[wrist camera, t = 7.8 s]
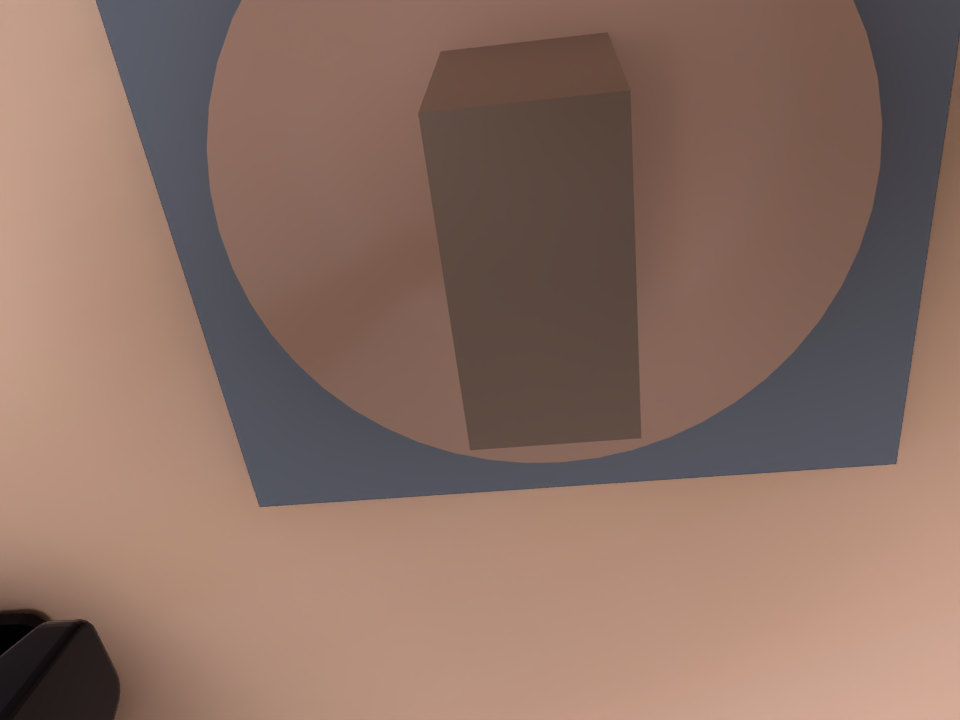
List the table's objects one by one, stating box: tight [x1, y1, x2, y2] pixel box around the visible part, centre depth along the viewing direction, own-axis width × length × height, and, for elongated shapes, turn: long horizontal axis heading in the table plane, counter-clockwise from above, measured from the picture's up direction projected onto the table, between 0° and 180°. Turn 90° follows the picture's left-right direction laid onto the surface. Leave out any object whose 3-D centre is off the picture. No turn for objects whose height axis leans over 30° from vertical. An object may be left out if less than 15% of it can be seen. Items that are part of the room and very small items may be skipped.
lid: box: [207, 0, 882, 463], centre depth 16 cm, size 13×13×5 cm
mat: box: [96, 0, 960, 507], centre depth 19 cm, size 16×16×1 cm
